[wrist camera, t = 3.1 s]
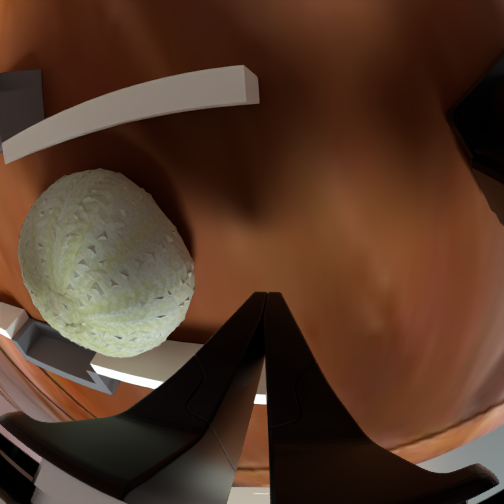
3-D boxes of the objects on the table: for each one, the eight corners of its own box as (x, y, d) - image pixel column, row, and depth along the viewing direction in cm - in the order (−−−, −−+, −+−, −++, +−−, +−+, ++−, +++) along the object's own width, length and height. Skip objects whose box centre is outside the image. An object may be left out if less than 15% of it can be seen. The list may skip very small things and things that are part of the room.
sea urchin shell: (7, 188, 10) (-41, 240, 4) (136, 146, 14) (201, 158, 8) (59, 324, 14) (81, 425, 8) (161, 283, 18) (225, 358, 13)
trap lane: (251, -3, 6) (235, -39, 4) (272, 383, 16) (267, 423, 14) (-59, 158, 11) (-79, 169, 8) (0, 321, 21) (-13, 337, 18)
